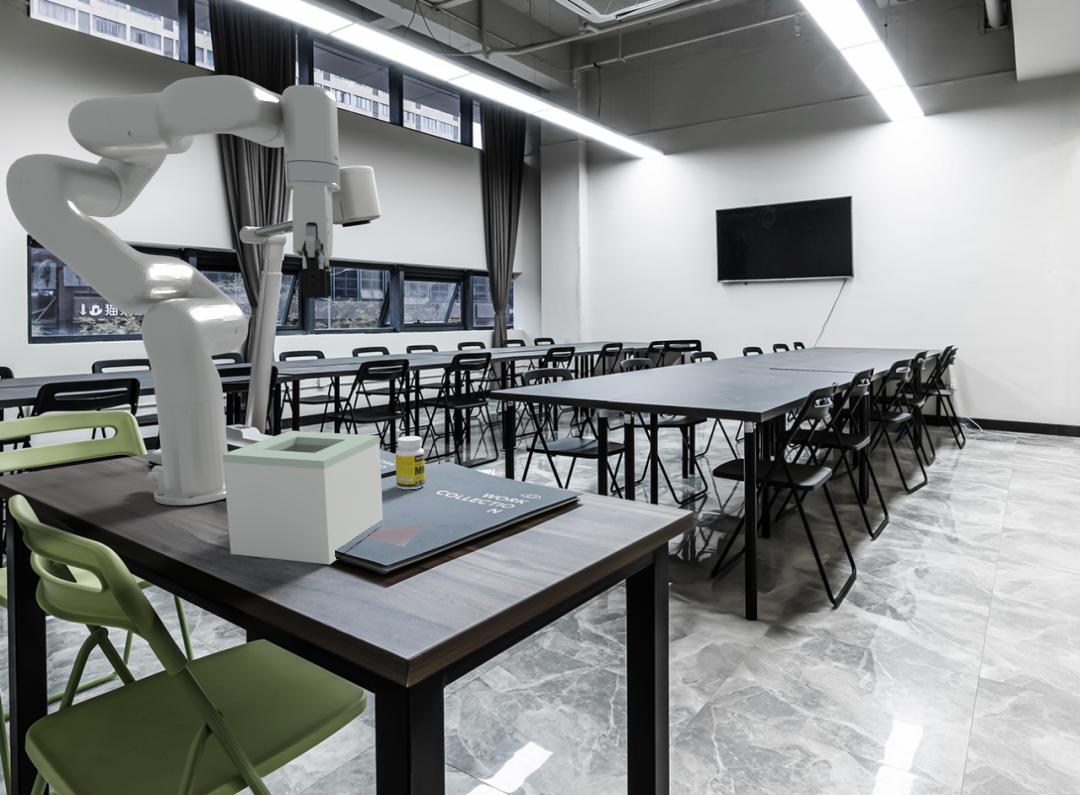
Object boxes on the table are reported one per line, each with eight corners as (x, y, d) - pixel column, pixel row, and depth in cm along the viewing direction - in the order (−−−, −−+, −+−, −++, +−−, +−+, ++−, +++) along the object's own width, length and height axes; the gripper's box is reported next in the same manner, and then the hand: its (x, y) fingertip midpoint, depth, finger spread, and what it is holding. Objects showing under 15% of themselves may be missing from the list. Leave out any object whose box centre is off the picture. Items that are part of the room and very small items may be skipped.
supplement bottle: (418, 491, 110) (417, 442, 109) (392, 490, 111) (390, 440, 110) (429, 483, 115) (427, 435, 113) (403, 482, 116) (401, 434, 114)
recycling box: (230, 553, 85) (222, 454, 82) (296, 517, 98) (290, 430, 96) (329, 564, 81) (323, 461, 79) (383, 525, 95) (379, 435, 93)
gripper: (293, 185, 105) (298, 296, 108) (276, 167, 88) (283, 298, 91) (342, 188, 107) (346, 296, 109) (336, 170, 90) (340, 298, 93)
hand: (318, 297), depth 100 cm, fingers open, 9 cm apart
